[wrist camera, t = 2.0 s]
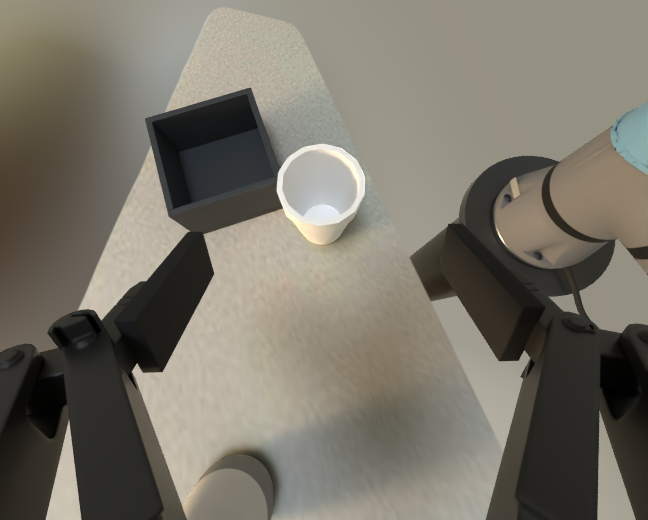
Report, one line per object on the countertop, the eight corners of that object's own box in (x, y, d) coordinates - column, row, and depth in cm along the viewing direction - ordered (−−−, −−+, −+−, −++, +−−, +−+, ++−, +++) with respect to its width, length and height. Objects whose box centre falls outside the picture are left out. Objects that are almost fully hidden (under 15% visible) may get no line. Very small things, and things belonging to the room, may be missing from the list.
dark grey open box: (290, 205, 44) (282, 180, 36) (197, 236, 43) (168, 216, 35) (263, 126, 47) (250, 87, 39) (175, 153, 46) (144, 118, 38)
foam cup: (363, 241, 43) (379, 206, 30) (305, 265, 42) (296, 239, 29) (337, 186, 44) (342, 132, 32) (281, 208, 44) (264, 161, 31)
